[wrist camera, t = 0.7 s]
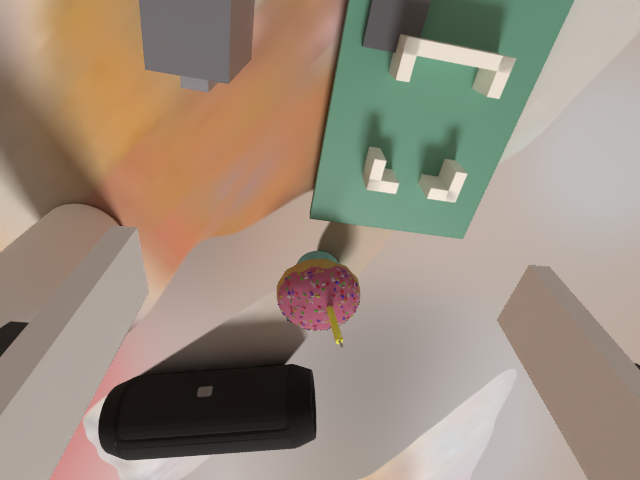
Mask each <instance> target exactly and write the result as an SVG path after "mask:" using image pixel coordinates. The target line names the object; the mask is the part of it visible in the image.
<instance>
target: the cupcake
mask: <svg viewBox="0 0 640 480" xmlns="http://www.w3.org/2000/svg"><path fill="white" fill-rule="evenodd" d="M277 301H278V305H279V307H280V309H281V310H280V311H282V313H283V315H285V316H286V318H287V321H289V320H290V322H291V323H292V322H293V323H294V324H295V325H298V327H300V328H302V329H307V330H310V329H311V330H312V331H313V330H315V331H316V330H328V329H330V328H332V331H333V334H334V338H335V341H336V343H337V344H340V346H341V348H344V347H343V345H342V342H343V338H342V335H341V332H340V328H339V326H340V324H342V323H345V322H346V321H347V320H348V319H349V318H350V317H351V316H353V313H355V312H356V309H357V307H358V305H359V303H360V288H359V283H358V279H357V278H356V276H355V275H354V274H353V273H352V272H351V271H350V270H349V269H348V268H347V267H346V266H344V265H341V264H339V263H338V261H337V260H336V258H335V257H334V256H332V255H331V254H329V253H327V252H323V251H313V252H309V253H307V254H305V255H304V256H302V257H301V258H300V259H299V261H298V263H297V265H295V266H293V267H291V268H289V269H287V270H286V271H285V273H284V275H283V276H282V278H281V279H280V281H279V282H278V285H277ZM288 319H289V320H288Z"/></svg>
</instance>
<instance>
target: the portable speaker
mask: <svg viewBox="0 0 640 480" xmlns="http://www.w3.org/2000/svg"><path fill="white" fill-rule="evenodd" d="M98 433H99V440H100V444H101V446H102V448H103V449H104V451H105V452H107V453H109V454H111V455H114V456H116V457H119V458H121V459H125V460H142V459H156V458H170V457H184V456H197V455H211V454H224V453H239V452H252V451H265V450H280V449H293V448H297V447H300V446H302V445H304V444H306V443H308V442H310V441H312V440H314V439H315V438H316V403H315V388H314V379H313V373H312V370H311V369H308V368H304V367H301V366H298V365H294V364H288V365H276V366H263V367H250V368H237V369H224V370H211V371H197V372H184V373H171V374H158V375H143V376H137V377H134V378H132V379H130V380H128V381H126V382H124V383H121V384H119V385H117V386H116V387H114V388H113V389H112V391H111V392H110V393H109V394H108V396H107V398H106V399H105V402H104V404H103V406H102V410H101V413H100V418H99V427H98Z"/></svg>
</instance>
